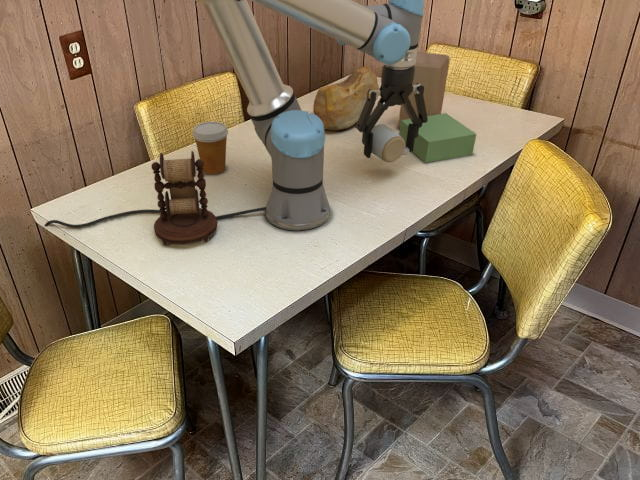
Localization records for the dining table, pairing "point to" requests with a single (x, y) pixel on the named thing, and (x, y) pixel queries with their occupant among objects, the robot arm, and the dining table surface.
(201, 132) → the disposable coffee cup
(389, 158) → the ceramic mug
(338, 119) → the rough brown rock
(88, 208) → the dining table surface
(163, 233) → the wooden thread spool stand
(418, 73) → the wooden block
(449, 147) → the green block
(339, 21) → the robot arm
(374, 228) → the dining table surface
